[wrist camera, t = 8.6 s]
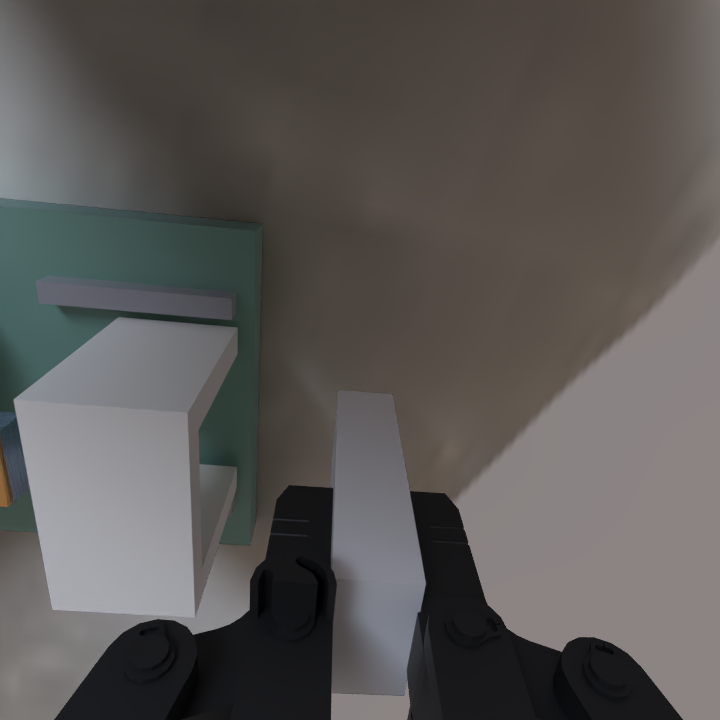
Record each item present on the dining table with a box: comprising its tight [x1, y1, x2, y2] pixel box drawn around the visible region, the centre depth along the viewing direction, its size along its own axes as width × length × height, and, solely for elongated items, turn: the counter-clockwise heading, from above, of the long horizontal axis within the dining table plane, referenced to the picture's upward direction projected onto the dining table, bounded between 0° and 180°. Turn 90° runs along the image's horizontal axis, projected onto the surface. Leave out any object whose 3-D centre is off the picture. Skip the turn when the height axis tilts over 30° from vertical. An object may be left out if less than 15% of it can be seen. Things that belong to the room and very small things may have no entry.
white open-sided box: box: [13, 317, 238, 618], centre depth 13 cm, size 3×5×5 cm, turn 174°
